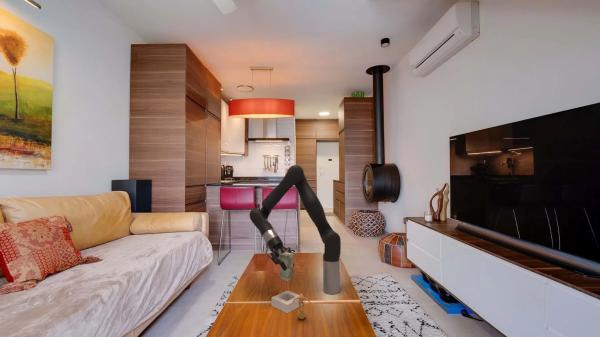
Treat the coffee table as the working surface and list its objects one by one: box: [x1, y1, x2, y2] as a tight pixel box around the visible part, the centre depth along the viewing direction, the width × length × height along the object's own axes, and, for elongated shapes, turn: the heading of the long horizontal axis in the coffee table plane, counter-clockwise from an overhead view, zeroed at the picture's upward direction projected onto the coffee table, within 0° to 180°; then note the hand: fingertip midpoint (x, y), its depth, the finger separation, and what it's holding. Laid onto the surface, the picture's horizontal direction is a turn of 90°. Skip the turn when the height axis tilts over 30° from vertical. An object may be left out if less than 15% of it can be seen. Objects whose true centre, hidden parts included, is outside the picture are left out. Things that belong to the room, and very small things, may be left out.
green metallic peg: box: [279, 252, 294, 282], centre depth 128 cm, size 4×4×12 cm
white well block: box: [271, 290, 303, 314], centre depth 128 cm, size 11×11×4 cm
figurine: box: [292, 292, 312, 320], centre depth 115 cm, size 8×6×12 cm
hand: (289, 268), depth 127 cm, fingers closed on green metallic peg, 4 cm apart
